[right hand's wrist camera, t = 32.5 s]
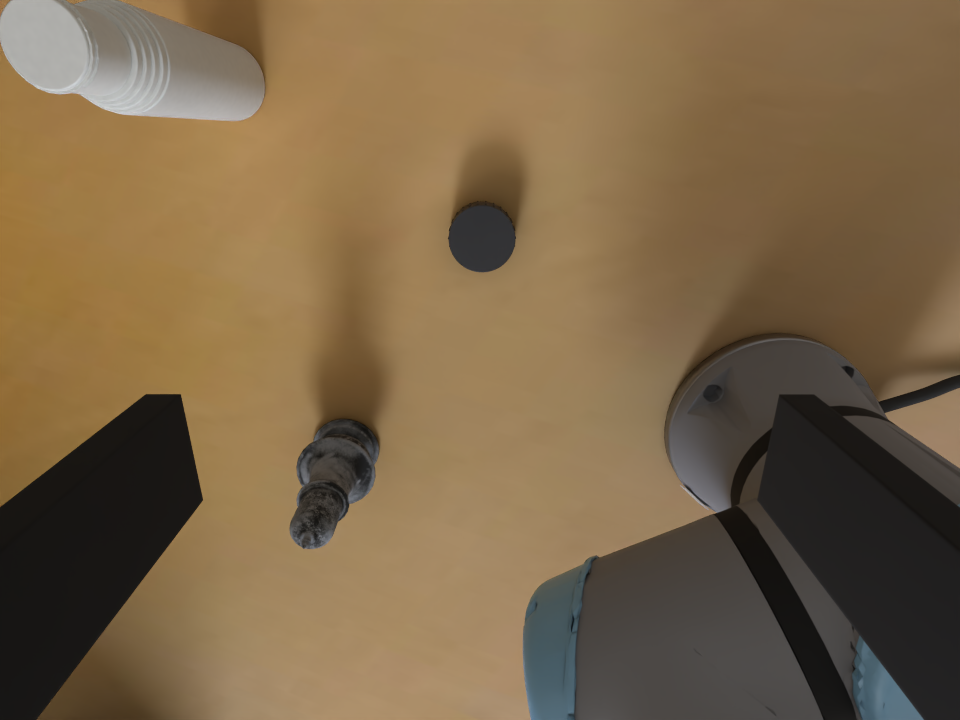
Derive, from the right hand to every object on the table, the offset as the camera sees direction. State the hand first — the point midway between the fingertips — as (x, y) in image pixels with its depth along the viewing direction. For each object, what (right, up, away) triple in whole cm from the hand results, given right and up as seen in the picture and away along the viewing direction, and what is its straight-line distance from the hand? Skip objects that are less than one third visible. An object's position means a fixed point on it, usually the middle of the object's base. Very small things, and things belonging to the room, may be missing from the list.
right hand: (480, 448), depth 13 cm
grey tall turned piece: (-11, -5, +34) cm, 36 cm away
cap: (0, +10, +26) cm, 28 cm away
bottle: (-16, +20, +24) cm, 35 cm away
